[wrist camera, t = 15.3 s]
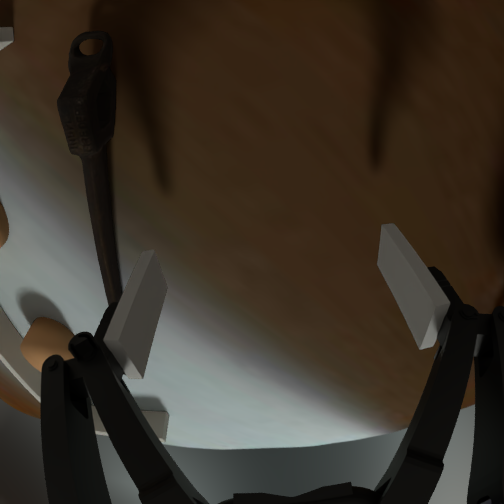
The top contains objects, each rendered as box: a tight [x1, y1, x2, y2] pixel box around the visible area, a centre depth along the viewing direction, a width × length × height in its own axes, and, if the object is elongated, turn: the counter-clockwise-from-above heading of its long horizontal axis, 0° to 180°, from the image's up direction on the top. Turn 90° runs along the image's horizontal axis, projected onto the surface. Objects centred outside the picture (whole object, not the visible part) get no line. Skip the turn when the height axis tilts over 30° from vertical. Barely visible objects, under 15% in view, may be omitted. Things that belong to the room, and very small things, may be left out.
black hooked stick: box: [57, 31, 126, 375], centre depth 20 cm, size 5×5×30 cm
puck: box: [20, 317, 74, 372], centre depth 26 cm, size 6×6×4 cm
